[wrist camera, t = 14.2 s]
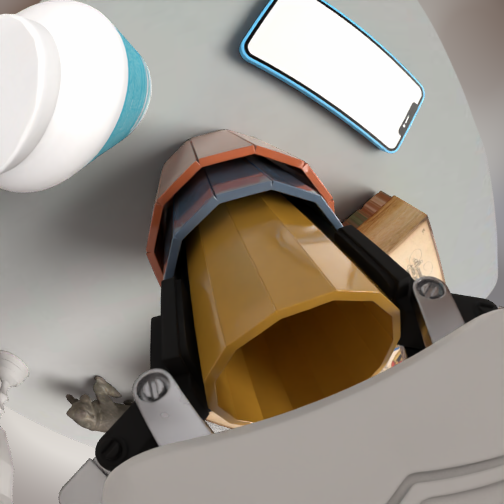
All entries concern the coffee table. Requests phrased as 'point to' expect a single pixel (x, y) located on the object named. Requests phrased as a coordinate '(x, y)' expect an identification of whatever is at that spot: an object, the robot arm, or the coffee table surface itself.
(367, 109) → the smartphone
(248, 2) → the coffee table surface
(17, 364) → the chalice
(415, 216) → the book
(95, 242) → the coffee table surface
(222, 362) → the ochre cup
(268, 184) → the cup stack
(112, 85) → the pill bottle
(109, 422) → the dog figurine
